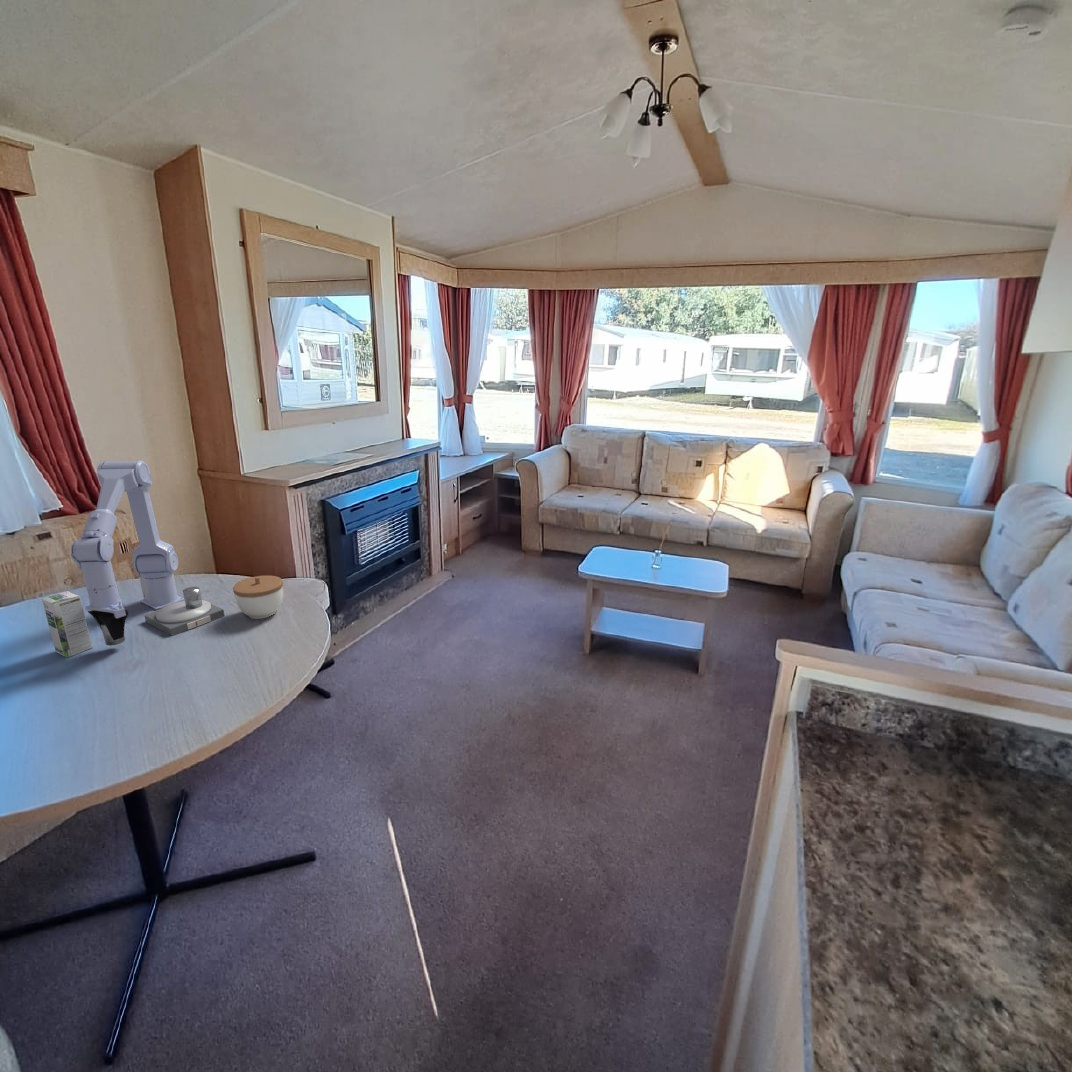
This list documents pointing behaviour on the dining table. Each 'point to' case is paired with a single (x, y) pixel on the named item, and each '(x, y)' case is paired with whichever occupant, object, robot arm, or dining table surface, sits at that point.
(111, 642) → the cylinder
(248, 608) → the lidded bowl
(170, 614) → the scale
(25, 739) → the dining table surface
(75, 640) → the syrup box
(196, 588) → the cylinder
